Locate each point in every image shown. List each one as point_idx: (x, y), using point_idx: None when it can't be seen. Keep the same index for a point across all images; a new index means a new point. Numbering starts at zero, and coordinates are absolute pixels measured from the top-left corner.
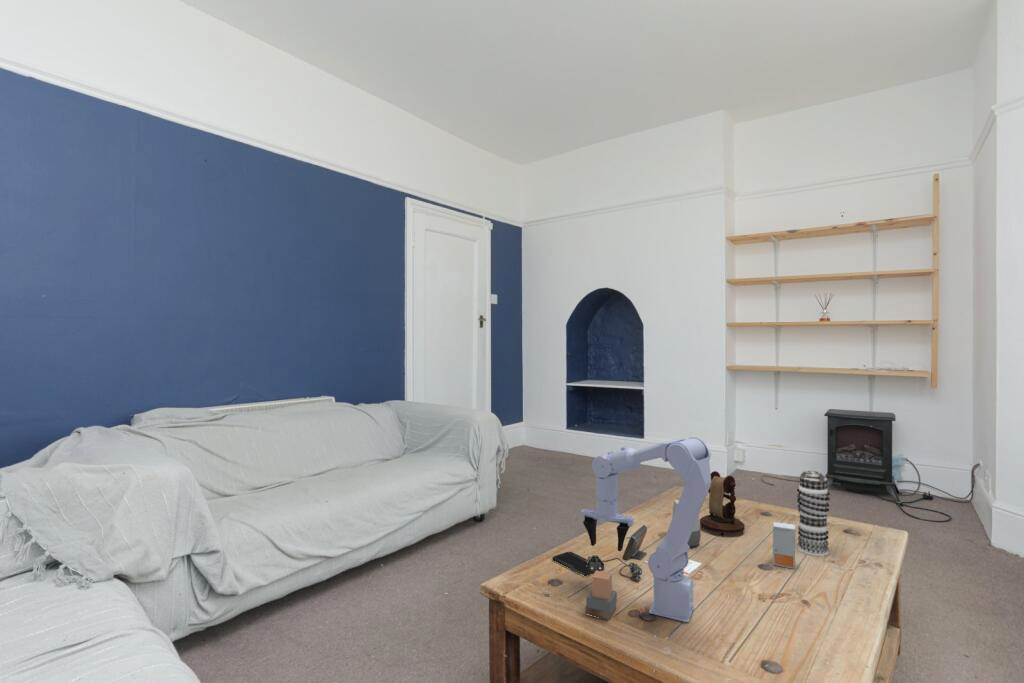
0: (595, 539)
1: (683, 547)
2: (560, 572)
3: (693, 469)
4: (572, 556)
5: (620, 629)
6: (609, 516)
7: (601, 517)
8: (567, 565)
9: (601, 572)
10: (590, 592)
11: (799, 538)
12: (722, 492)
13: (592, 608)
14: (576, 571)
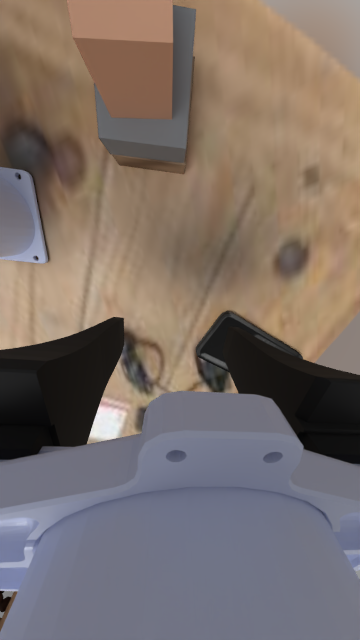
0: (229, 358)
1: None
2: (280, 310)
3: None
4: None
5: (63, 7)
6: (90, 543)
7: (250, 475)
8: (269, 337)
9: (131, 9)
10: (187, 78)
11: None
12: (3, 621)
13: None
14: (247, 322)
